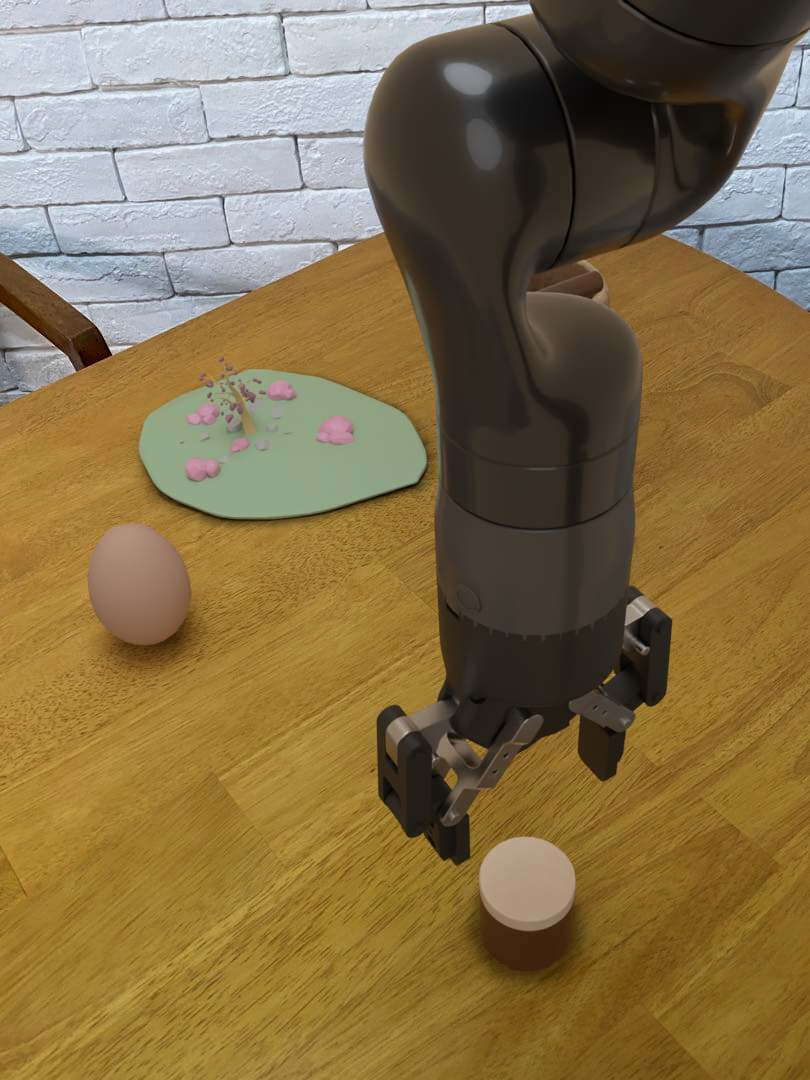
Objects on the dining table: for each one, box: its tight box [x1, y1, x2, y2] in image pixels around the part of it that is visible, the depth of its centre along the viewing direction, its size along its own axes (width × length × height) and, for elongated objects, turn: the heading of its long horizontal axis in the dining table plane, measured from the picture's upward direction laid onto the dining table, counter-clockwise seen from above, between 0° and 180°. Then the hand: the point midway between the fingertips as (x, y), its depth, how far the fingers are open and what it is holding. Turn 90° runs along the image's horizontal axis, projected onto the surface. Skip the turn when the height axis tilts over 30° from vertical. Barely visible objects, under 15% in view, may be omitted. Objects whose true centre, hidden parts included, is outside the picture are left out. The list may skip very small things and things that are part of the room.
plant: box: [138, 356, 428, 520], centre depth 94 cm, size 25×21×9 cm
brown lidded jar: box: [478, 836, 577, 971], centre depth 60 cm, size 5×5×5 cm
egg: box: [86, 522, 192, 646], centre depth 77 cm, size 7×7×10 cm
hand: (525, 807), depth 54 cm, fingers open, 8 cm apart
